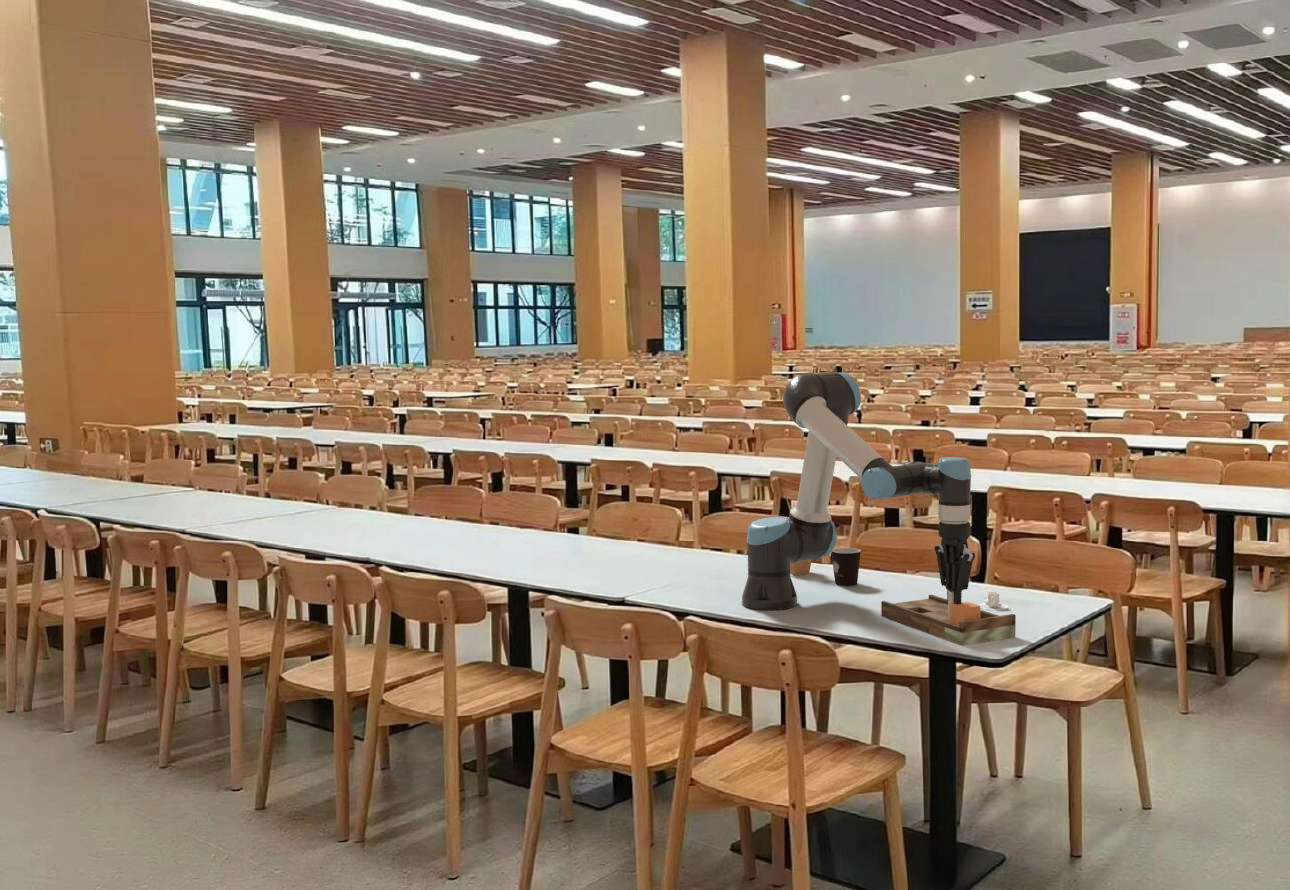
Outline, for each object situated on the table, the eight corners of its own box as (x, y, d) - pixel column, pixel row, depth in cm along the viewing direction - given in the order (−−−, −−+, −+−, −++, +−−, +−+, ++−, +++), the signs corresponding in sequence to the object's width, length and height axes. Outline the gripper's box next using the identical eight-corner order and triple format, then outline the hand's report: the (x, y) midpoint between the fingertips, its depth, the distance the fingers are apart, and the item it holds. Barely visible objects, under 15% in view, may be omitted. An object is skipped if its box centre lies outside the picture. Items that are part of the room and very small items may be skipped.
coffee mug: (863, 586, 354) (862, 552, 353) (833, 587, 354) (833, 553, 353) (857, 578, 366) (856, 545, 365) (828, 579, 366) (828, 546, 365)
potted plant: (777, 572, 378) (776, 493, 376) (802, 568, 382) (801, 490, 380) (796, 577, 369) (795, 497, 367) (821, 573, 374) (821, 494, 371)
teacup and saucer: (986, 603, 332) (986, 588, 332) (1014, 606, 327) (1014, 592, 327) (972, 609, 326) (972, 594, 325) (1000, 613, 320) (1000, 598, 320)
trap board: (961, 645, 288) (961, 622, 288) (881, 616, 318) (881, 595, 318) (1015, 636, 294) (1015, 614, 294) (931, 609, 325) (931, 589, 324)
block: (963, 628, 292) (963, 608, 291) (950, 623, 296) (950, 603, 296) (980, 625, 294) (980, 605, 293) (967, 621, 298) (967, 601, 298)
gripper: (984, 523, 291) (983, 620, 293) (950, 516, 303) (950, 609, 305) (958, 526, 288) (958, 624, 290) (925, 518, 300) (925, 612, 302)
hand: (954, 616), depth 298 cm, fingers closed
